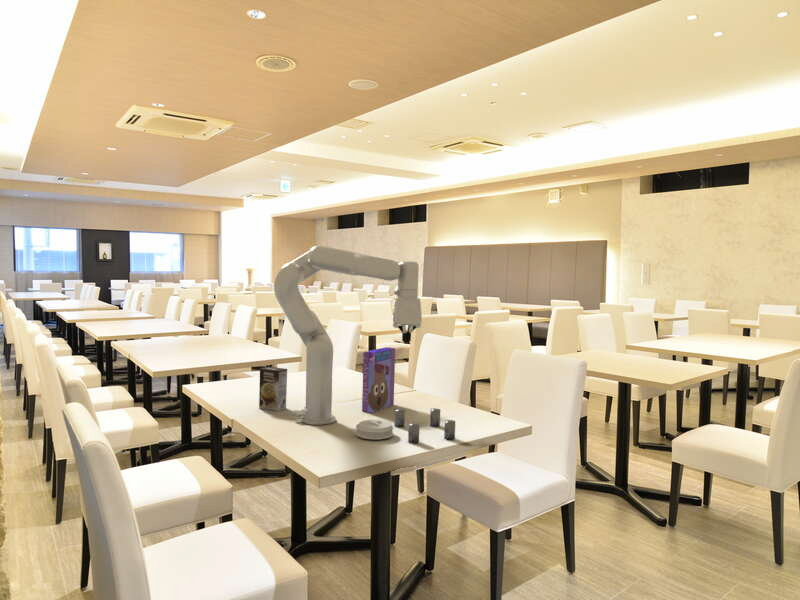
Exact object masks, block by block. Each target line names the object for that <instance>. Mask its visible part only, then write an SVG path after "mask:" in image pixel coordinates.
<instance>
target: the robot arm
mask: <svg viewBox="0 0 800 600" xmlns="http://www.w3.org/2000/svg"><path fill="white" fill-rule="evenodd" d="M321 270H322V271H327V272H333V273H339V274H344V275H348V276H357V277H359V276H361V277H368V278H372V279H378V280H383V281H388V282H392V281H395V280H397V290H396V291H395V290H394V291H393V294H394V295H395V296H397V297H396V298H395V301H394V306H393V307H394V308H393V317H392V321H393V322H392V323H393V324H392V327H393V328H395V329H399V331H400V332H402V333H401V334H402V336H401V341H402V343H403V344H406V345H407V344H408V345H409V344H410V342H411V341H412V333H413V331H414V330H416V329H421V327H422V324H421V323H422V319H423V318H422V303H421V298H419V270H420V269H419V263H418V262H416V261H395V260H392V259H389V258H382V257H379V256H378V257H377V256H371V255H368V254H367V255H366V254H362V253H359V252H355V251H351V250H350V251H349V250H344V249H339V248H333V247H329V246H323V245H315V246H312V247H311V248H310V249H309V250H308V251H307V252H305V253H304V254H302V255H300V256H298V257H297V258H296V259H294V260H292V261H290V262H287V263H285V264H283V265H282V266H281V268H279V270H278V272H277V273H276V276H275V278H274V283H273V291H274V294H275V298H276V300H277V302H278V304H279V306H280V308H281V309H282V311H283V313H284V314H285V317H286V318H287V320H288V322H289V323H290V325H291V328H292V330H293V331H294V332H295V333H296V334H297V335H298V336H299V338H300V339H301V341H302V343H303V345H305V348H306V351H305V352H306V357H305V358H306V359H305V361H306V363H305V364H306V365H305V366H306V367H305V368H306V371H305V406H304V407H303V408H301V409H300V410H297V409H296V410H295V409H294V410H292V416H293V417H294V416H296V417H297V418H298V417H300V418H301V419H300V421H301V422H302V423H304V424H306V425H312V426H322V425H323V426H325V425H329V424H333V423H334V422H336V416H335V415H333V414H332V411H333V410H332V407H333V406H332V404H333V403H332V402H333V366H334V365H333V364H334V363H333V362H334V345H333V342H332V339H331V337H330V335H329V334H328V333H327V331H326V329H325V328H324V326H323V324H322V322H321V320H320V319H319V318H318V316H317V314H316V313H315V311H313V310H312V309H310V307H309V306H308V303H307V302H306V301H305V299H304V297H303V295H302V293H301V292H300V290H299V289H300V288H299V285H300V284H301V283H302V282H304V281H305V280H306V279H309V278H310V277H312V276H314V275H315V274H317V273H318V272H319V271H321ZM406 326H407V327H406Z"/></svg>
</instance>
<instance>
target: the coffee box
mask: <svg viewBox="0 0 800 600" xmlns="http://www.w3.org/2000/svg"><path fill="white" fill-rule="evenodd" d="M287 385H288V368H282V367H273V366H265V367H261V368H259V396H258V397H259V398H258V409H261V410H265V411H274V412H280V411H282V410H284V409H287V389H288V388H287Z"/></svg>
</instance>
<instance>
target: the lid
mask: <svg viewBox="0 0 800 600" xmlns="http://www.w3.org/2000/svg"><path fill="white" fill-rule="evenodd" d="M355 428H356V431H355V435H356V437H360V438H362V439H365V440H383V439H384V440H385V439H390V438H392V437H393V436H394V431H393V429H394V424H392V423H391V422H390V421H387V420H382V419H365V420H362V421H360V422H358V423H357V424H356V425H355Z"/></svg>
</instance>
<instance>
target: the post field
mask: <svg viewBox="0 0 800 600" xmlns="http://www.w3.org/2000/svg"><path fill="white" fill-rule="evenodd" d="M429 412H430V414H429V415H430V417H429V420H430V421H429V427H432V428H439V426H440V427H441V409H440V408H437V407H433V408H430V411H429ZM405 413H406V409H404V408H395V409H394V428H398V427H399V428H401V427H402V428H404V427H405V422H406V418H405V416H406V414H405ZM420 427H421V426H420V423H418V422H409V423H408V432H407V433H408V434H407V437H408V438H407V443H408V442H409V443H408V444H411V443H417V444H419V443H420ZM402 428H401V429H402ZM443 433H444V434H443V439H444V440H445V439H446V440H445V441H449V440H452V441H455V440H456V420H453V419H446V420H444V432H443ZM454 439H455V440H454Z"/></svg>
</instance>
